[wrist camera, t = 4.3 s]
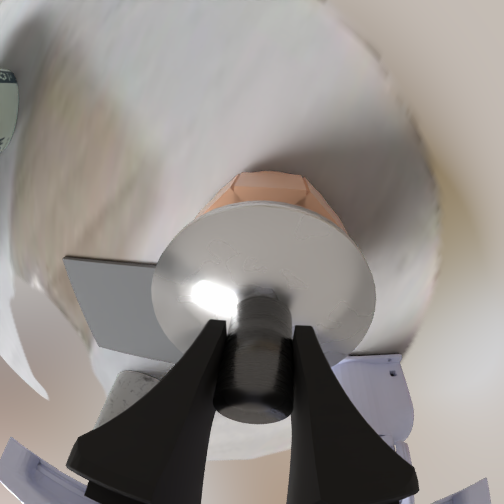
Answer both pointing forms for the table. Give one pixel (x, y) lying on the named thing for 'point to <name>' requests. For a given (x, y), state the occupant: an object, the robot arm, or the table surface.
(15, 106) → the food container
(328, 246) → the lid
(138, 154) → the table surface
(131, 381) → the grey concrete cylinder
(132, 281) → the mat
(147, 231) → the table surface
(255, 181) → the bowl
